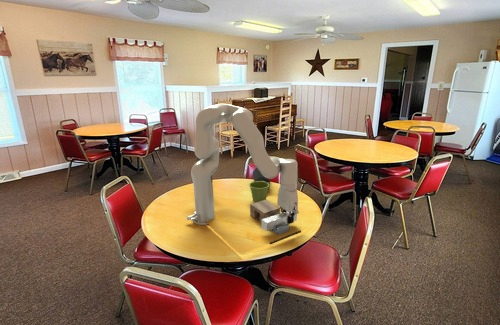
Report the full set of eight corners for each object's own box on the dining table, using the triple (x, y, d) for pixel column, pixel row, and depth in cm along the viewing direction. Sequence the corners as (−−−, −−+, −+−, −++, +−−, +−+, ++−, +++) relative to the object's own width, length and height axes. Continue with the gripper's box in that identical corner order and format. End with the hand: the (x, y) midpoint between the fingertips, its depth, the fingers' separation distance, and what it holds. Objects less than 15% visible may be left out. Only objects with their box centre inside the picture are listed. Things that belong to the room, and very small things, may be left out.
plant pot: (269, 198, 174) (269, 181, 170) (269, 207, 162) (269, 188, 159) (250, 198, 175) (250, 180, 172) (248, 206, 164) (247, 188, 160)
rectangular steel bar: (266, 231, 129) (266, 223, 128) (261, 227, 132) (261, 219, 131) (296, 220, 139) (297, 212, 138) (291, 217, 142) (291, 209, 141)
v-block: (271, 244, 127) (271, 234, 125) (255, 232, 136) (255, 223, 135) (301, 232, 136) (301, 222, 135) (284, 221, 146) (284, 213, 144)
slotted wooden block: (263, 227, 141) (263, 213, 139) (250, 218, 150) (250, 204, 148) (279, 221, 146) (280, 207, 144) (265, 212, 156) (265, 199, 153)
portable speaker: (270, 192, 183) (270, 178, 180) (255, 193, 182) (255, 178, 179) (266, 178, 207) (266, 165, 204) (252, 179, 206) (252, 166, 204)
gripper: (270, 182, 137) (270, 216, 143) (294, 193, 124) (293, 231, 129) (283, 179, 141) (282, 212, 147) (307, 189, 128) (305, 226, 133)
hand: (287, 220), depth 138 cm, fingers closed on rectangular steel bar, 3 cm apart
